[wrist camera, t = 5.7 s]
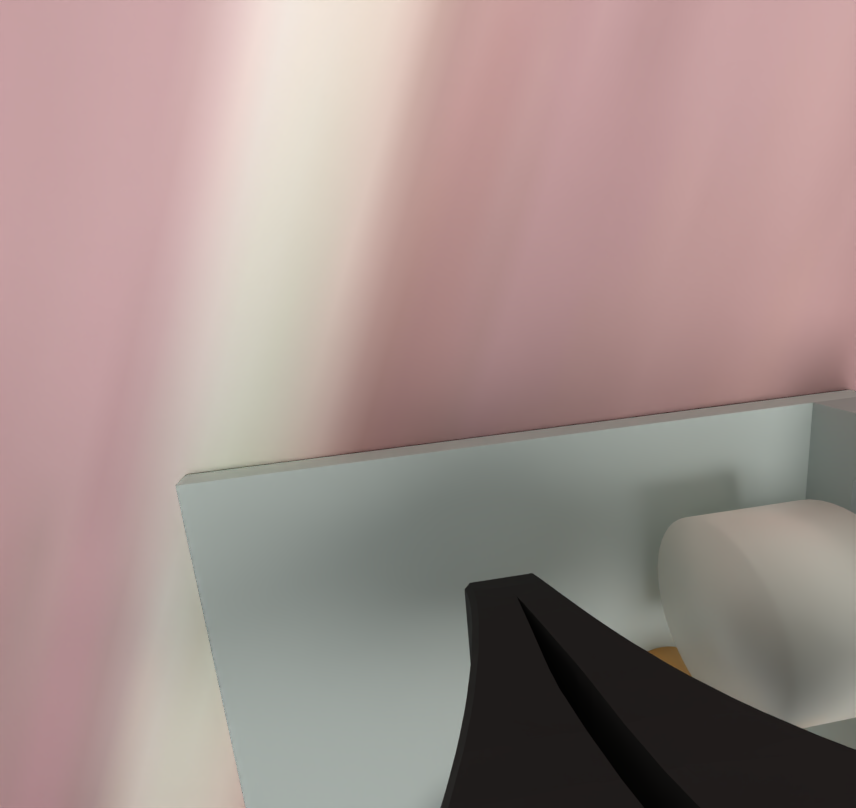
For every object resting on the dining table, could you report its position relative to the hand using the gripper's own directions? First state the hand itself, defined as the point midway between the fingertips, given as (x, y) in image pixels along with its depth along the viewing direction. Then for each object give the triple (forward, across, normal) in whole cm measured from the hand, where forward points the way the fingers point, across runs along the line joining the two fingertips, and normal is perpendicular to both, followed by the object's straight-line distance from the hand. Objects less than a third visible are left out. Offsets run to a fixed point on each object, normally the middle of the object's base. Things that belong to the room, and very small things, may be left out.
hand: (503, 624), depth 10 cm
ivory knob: (+1, -9, 0) cm, 9 cm away
